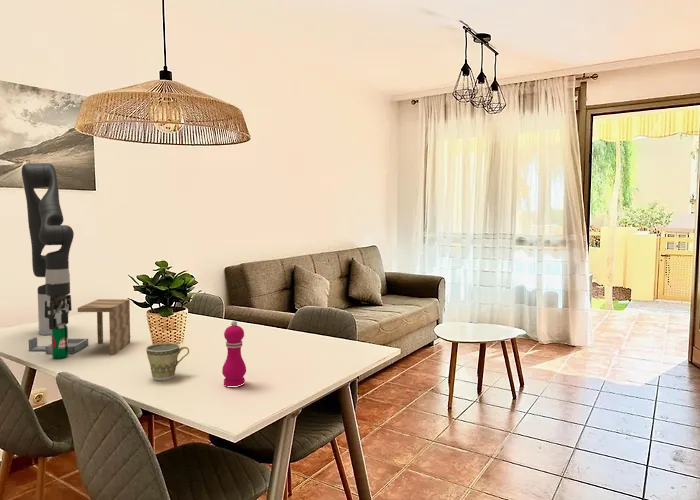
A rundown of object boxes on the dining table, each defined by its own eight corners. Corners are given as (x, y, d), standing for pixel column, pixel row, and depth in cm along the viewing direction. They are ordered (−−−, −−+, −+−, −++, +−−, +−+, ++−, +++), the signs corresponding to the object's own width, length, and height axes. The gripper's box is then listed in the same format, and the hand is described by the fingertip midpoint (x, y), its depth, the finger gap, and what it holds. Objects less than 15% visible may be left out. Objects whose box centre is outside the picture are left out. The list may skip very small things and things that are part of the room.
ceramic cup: (147, 384, 155) (146, 352, 154) (146, 374, 164) (145, 344, 163) (191, 379, 160) (190, 348, 160) (187, 370, 169) (187, 340, 169)
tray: (40, 344, 196) (39, 334, 196) (88, 344, 198) (88, 334, 197) (22, 353, 184) (22, 342, 184) (74, 353, 186) (73, 342, 185)
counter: (99, 342, 202) (98, 299, 200) (130, 342, 203) (129, 299, 201) (78, 355, 184) (77, 308, 183) (112, 355, 185) (112, 308, 184)
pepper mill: (224, 380, 159) (224, 318, 158) (247, 380, 160) (247, 318, 158) (220, 388, 152) (220, 323, 151) (244, 388, 153) (244, 323, 151)
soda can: (61, 359, 179) (60, 326, 178) (48, 358, 180) (47, 325, 179) (71, 355, 184) (70, 323, 183) (59, 354, 184) (58, 322, 184)
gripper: (56, 278, 186) (58, 322, 187) (35, 284, 172) (37, 331, 173) (77, 279, 187) (79, 322, 188) (58, 284, 173) (60, 331, 174)
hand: (59, 326), depth 180 cm, fingers open, 8 cm apart
